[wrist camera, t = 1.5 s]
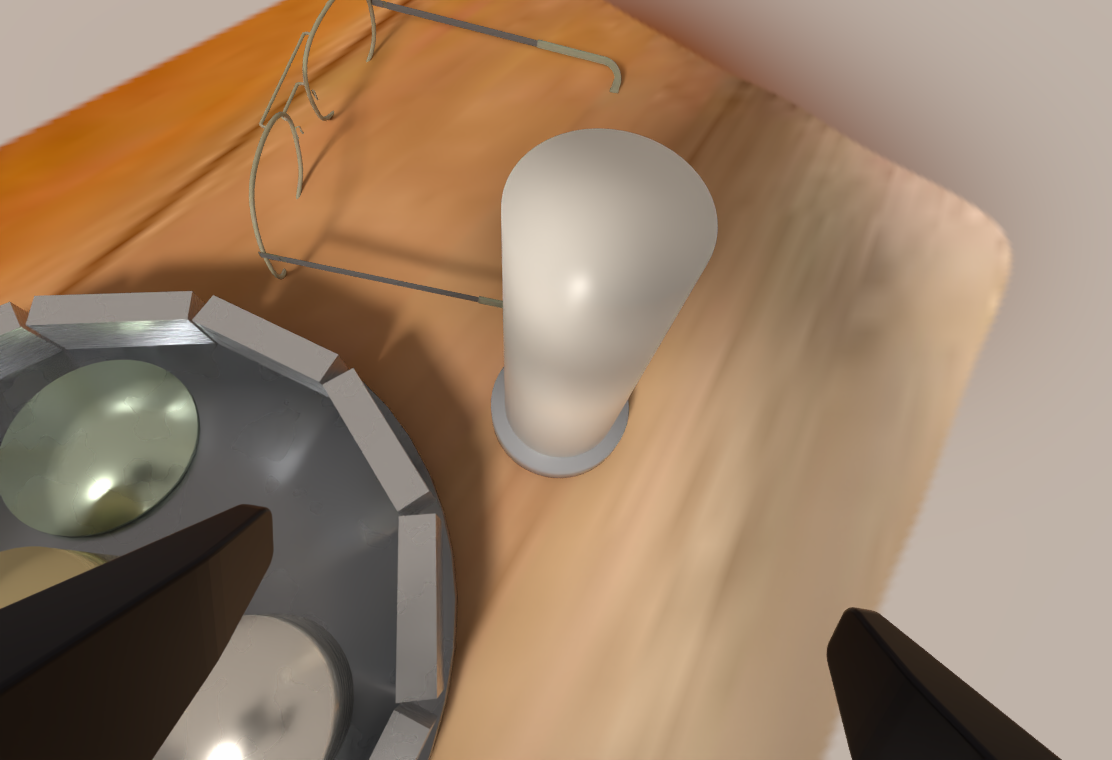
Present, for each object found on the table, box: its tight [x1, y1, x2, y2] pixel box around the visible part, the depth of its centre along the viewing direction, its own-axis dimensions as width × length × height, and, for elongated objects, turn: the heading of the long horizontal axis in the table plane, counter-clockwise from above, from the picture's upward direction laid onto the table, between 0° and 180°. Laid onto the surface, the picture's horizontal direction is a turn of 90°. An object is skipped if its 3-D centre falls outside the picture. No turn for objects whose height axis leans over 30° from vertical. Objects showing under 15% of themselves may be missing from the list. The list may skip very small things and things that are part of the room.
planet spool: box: [491, 128, 718, 478], centre depth 17 cm, size 6×6×13 cm
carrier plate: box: [0, 291, 458, 760], centre depth 17 cm, size 24×24×4 cm
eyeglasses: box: [249, 0, 621, 308], centre depth 26 cm, size 16×15×5 cm
